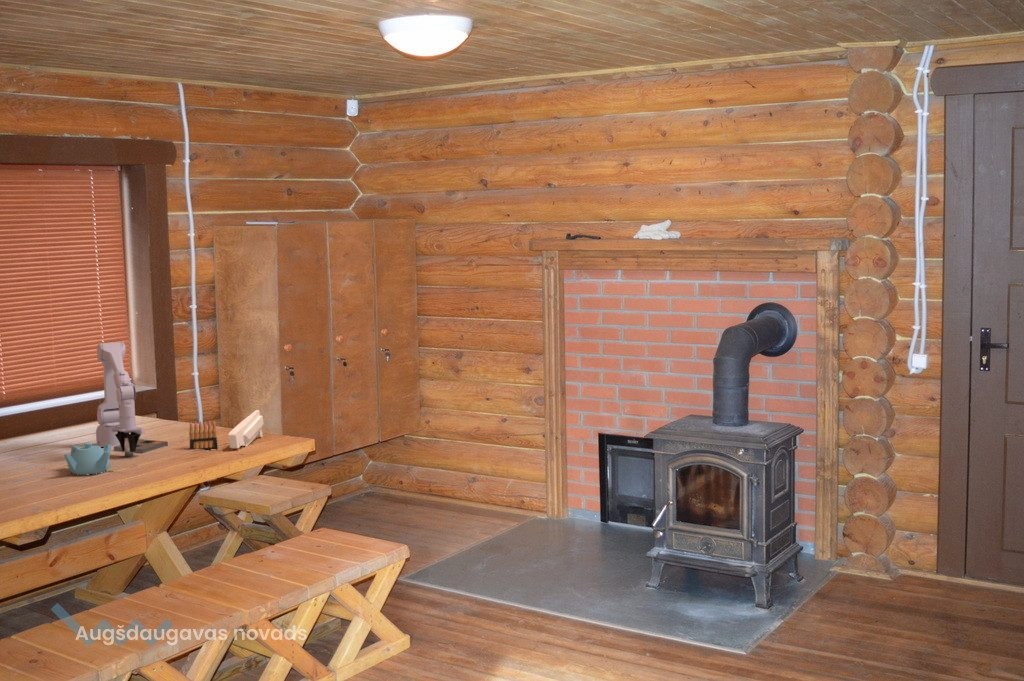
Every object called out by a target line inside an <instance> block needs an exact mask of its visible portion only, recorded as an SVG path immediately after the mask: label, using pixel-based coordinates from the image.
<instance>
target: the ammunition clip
mask: <svg viewBox="0 0 1024 681" xmlns="http://www.w3.org/2000/svg"><path fill="white" fill-rule="evenodd" d="M211 423H212V424H211ZM216 425H217V424H216V421H215V420H212V422H211V421H210V420H208V424H207V422H206V420H204V421H203V423H202V421H199V424H198V423H197V421H194V426H193V422H192V421H190V423H189V450H192V451H193V450H209V451H212V450H211V449H218V437H217V433H218V432H217V427H216Z"/></svg>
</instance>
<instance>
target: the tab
mask: <svg viewBox="0 0 1024 681" xmlns="http://www.w3.org/2000/svg"><path fill="white" fill-rule="evenodd" d="M138 457H139V455H137V454H134V455H133V456H125V454H124V455H122V456H118V458H120V459H121V458H122V459H134V458H138Z"/></svg>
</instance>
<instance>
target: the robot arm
mask: <svg viewBox="0 0 1024 681" xmlns="http://www.w3.org/2000/svg"><path fill="white" fill-rule="evenodd" d="M126 350H127V349H126V345H125V342H124V341H117V342H103V343H101V342H99V343H98V344H97V347H96V355H97V356H96V357H97V362H99V363H102V366H103V369H102V371H103V372H102V373H103V391H104V392H103V393H104V401H103V402H102V403H100V404H99V405H98V406H97V413H96V419H97V423H98V424H99V425H98V426H97V428H96V430H95V437H96V440H95V441H96V446H100V447H104V448H105V446H106V444H111V447H115V446H118V445H121V448H122V451H121V452H124V451H125V450H124V437H128V440H129V445H130V452H133V453H135V452H134V451H135V450H136V446H137V442H138V439H140V437H141V436H142V435H144V434H146V428H142V427H139V426H136V424H137V423H136V408H135V404H136V403H135V400H136V399H137V391H136V390H137V389H136V387H135V386H136V385H135V384H134V383H133V382H132V381H131V378H130V375H129V372H128V371H127V370H125V367H124V362H123V360H124V359H125V356H126ZM104 448H103V449H104Z"/></svg>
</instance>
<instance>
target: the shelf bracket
mask: <svg viewBox="0 0 1024 681" xmlns="http://www.w3.org/2000/svg"><path fill="white" fill-rule="evenodd" d="M264 424H265V423H264V417H263V415H261V412H260V409H256V410H254V411H253V412H252V413H251V414H249V415H248V416H247V417H245V419H242V421H240V422H239V423H238V424H237V425H236V426H235V427H234V428H233V429H231V430H230V432H228V435H227V438H228V444H229V448H230V449H239V448H240V447H241V446H247V447H249V445H251V443H252V442H253V441H254V440H255V439H256V437H257V438H261V439H263V436H264V435H263V428H262V427H263V425H264Z"/></svg>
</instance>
